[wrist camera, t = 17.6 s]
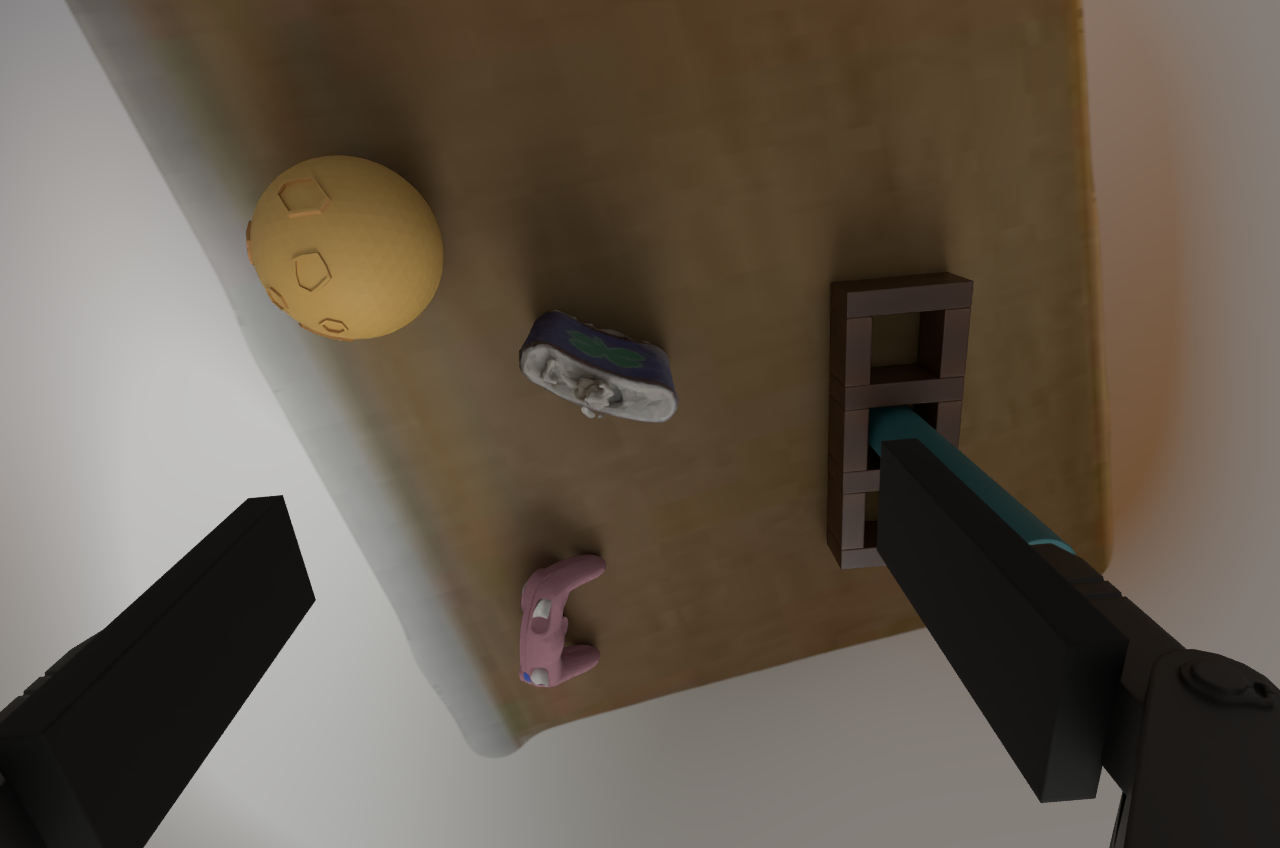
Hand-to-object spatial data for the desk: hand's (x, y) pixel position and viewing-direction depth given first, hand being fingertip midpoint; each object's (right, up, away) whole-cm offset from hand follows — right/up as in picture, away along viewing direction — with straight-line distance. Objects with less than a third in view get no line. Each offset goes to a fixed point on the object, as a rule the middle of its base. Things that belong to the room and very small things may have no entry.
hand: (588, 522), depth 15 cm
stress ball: (-15, +14, +27) cm, 34 cm away
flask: (-1, +7, +30) cm, 31 cm away
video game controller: (-5, -12, +38) cm, 40 cm away
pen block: (+18, +3, +32) cm, 37 cm away
